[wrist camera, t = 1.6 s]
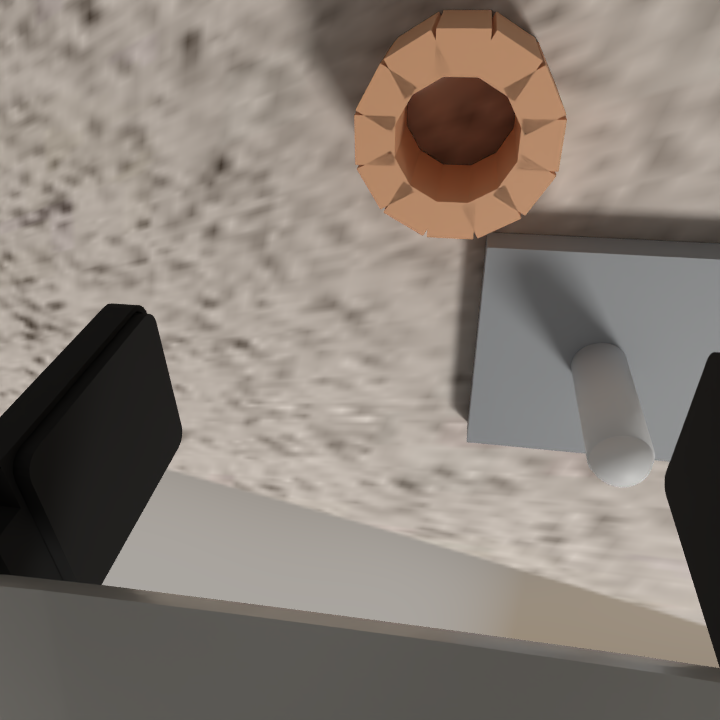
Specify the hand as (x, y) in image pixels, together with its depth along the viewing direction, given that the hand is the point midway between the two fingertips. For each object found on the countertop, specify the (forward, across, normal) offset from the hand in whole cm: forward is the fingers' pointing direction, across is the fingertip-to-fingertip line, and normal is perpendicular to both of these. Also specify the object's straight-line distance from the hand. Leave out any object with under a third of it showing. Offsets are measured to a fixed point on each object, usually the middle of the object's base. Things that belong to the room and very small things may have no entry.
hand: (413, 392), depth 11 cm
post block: (+17, -7, +10) cm, 21 cm away
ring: (+17, 0, 0) cm, 17 cm away
